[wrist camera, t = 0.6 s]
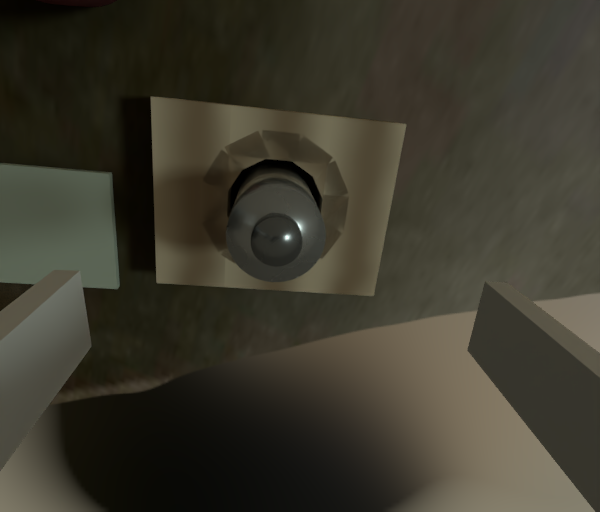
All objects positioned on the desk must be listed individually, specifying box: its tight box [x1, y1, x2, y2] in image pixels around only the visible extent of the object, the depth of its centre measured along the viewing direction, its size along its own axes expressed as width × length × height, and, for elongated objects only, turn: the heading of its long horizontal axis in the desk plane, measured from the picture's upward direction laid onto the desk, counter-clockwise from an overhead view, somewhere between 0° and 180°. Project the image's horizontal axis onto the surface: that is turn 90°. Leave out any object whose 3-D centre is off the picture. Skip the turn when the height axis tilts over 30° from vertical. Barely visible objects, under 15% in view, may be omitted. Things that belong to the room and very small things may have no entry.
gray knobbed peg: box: [226, 162, 326, 282], centre depth 28 cm, size 6×6×11 cm
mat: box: [0, 163, 120, 289], centre depth 32 cm, size 10×10×1 cm
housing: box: [151, 97, 406, 296], centre depth 31 cm, size 18×14×3 cm
